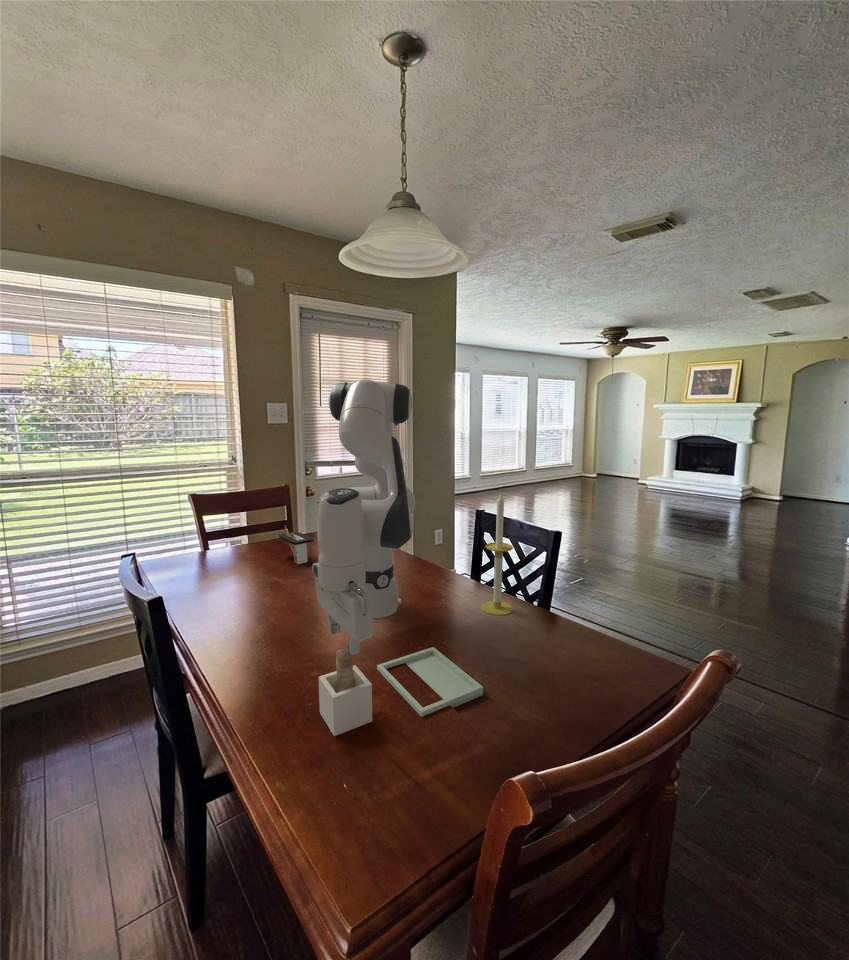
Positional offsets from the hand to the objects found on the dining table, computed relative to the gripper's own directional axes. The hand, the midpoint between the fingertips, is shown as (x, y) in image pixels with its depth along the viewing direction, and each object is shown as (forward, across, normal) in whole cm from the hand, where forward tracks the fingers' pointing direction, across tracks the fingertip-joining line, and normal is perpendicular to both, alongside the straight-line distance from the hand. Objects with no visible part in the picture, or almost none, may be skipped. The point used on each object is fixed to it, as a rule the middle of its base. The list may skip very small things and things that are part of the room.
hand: (344, 642), depth 90 cm
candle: (+17, +24, -61) cm, 68 cm away
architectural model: (+17, +104, -21) cm, 107 cm away
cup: (+17, 0, 0) cm, 17 cm away
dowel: (+16, 0, 0) cm, 16 cm away
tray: (+17, +2, -21) cm, 27 cm away
